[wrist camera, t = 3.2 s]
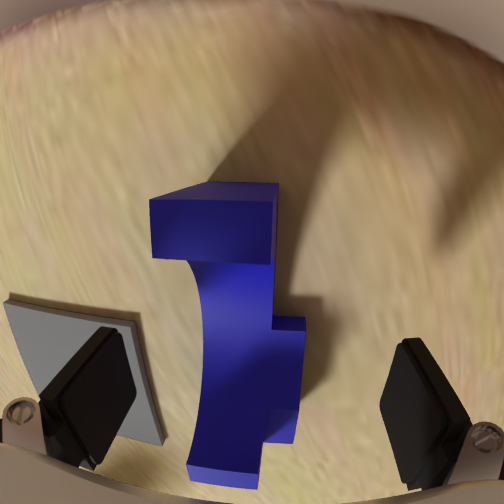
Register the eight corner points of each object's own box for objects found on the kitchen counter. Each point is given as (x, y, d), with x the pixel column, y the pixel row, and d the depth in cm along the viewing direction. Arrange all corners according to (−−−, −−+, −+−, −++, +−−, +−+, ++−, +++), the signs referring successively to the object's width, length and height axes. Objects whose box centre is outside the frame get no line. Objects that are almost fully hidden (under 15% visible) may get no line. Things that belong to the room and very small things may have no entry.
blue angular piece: (293, 404, 16) (291, 491, 10) (215, 398, 16) (190, 480, 11) (314, 184, 13) (339, 205, 7) (207, 181, 13) (149, 199, 7)
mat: (135, 321, 15) (130, 326, 15) (164, 440, 18) (162, 446, 17) (8, 299, 16) (2, 302, 16) (49, 405, 19) (45, 409, 19)
